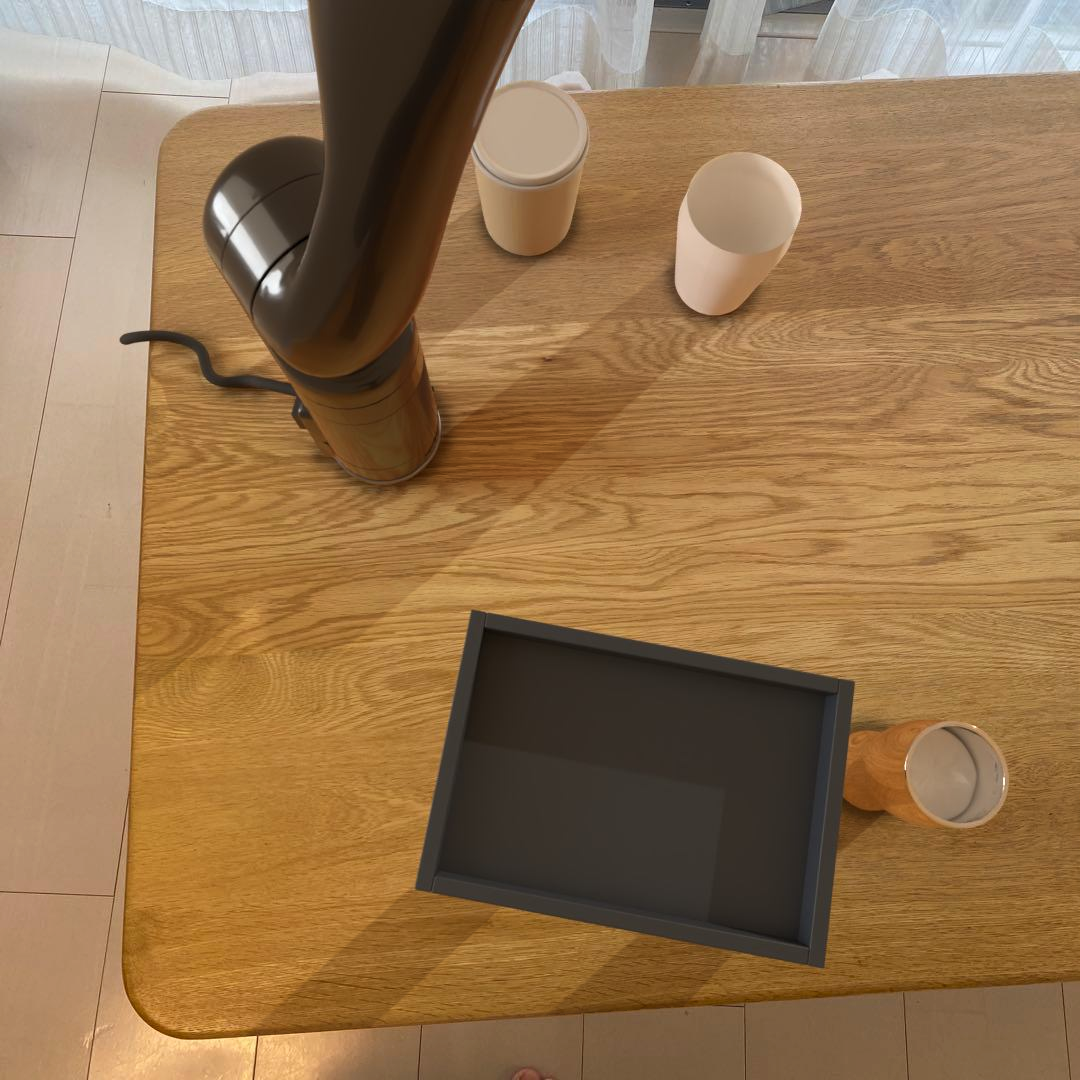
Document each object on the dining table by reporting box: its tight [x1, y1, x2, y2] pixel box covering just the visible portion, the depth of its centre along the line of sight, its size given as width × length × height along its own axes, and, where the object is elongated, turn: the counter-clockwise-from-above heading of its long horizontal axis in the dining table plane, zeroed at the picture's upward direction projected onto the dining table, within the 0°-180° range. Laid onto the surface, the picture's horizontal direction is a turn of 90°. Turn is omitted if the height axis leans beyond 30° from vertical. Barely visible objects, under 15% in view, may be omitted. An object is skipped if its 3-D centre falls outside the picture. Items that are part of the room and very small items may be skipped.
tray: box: [414, 609, 856, 969], centre depth 59 cm, size 20×14×28 cm
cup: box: [674, 151, 803, 316], centre depth 76 cm, size 9×9×12 cm
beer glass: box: [843, 718, 1010, 830], centre depth 65 cm, size 7×7×15 cm
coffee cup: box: [470, 79, 591, 257], centre depth 77 cm, size 9×9×12 cm
